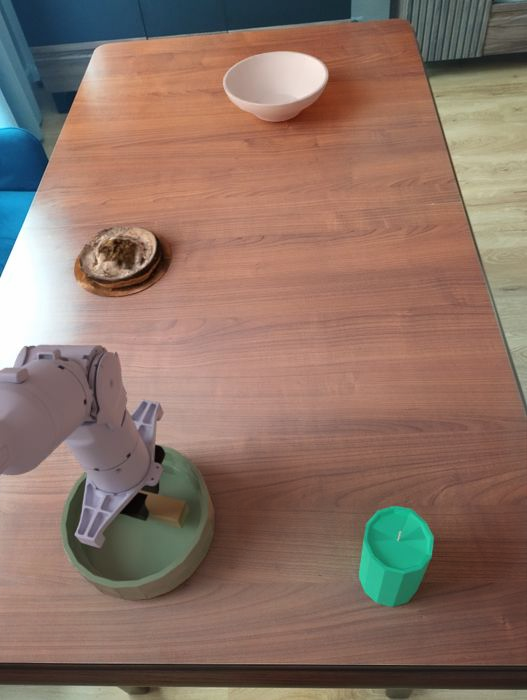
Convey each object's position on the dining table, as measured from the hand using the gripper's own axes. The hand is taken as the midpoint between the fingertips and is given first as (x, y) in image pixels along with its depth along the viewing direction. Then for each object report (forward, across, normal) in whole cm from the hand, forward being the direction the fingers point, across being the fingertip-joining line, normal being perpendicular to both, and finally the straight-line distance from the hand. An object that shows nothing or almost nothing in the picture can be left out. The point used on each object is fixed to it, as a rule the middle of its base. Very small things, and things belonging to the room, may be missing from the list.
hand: (144, 503), depth 62 cm
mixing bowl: (+3, -1, 0) cm, 4 cm away
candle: (+4, +1, -26) cm, 26 cm away
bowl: (+3, +82, +9) cm, 82 cm away
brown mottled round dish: (+4, +37, +21) cm, 42 cm away
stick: (+1, 0, 0) cm, 1 cm away
